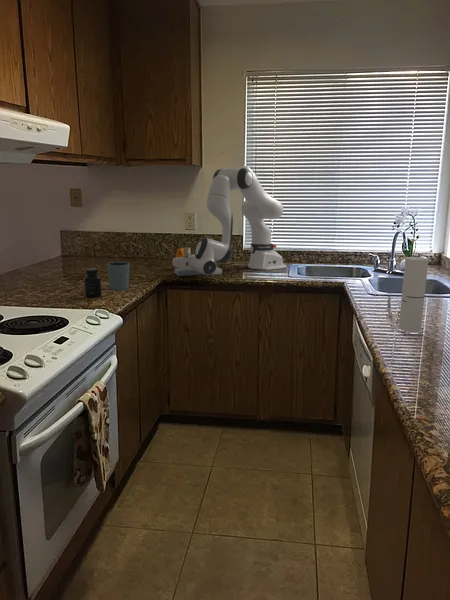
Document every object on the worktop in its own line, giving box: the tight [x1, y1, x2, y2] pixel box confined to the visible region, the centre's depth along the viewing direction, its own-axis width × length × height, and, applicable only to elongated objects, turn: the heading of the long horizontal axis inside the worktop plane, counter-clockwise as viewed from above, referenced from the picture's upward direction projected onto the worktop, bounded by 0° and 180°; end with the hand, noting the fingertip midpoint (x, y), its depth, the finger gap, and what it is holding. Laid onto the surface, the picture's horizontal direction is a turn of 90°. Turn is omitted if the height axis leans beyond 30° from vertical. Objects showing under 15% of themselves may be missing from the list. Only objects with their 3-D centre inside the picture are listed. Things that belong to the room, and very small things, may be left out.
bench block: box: [173, 268, 201, 277], centre depth 266 cm, size 12×8×2 cm, turn 110°
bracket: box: [173, 247, 185, 269], centre depth 280 cm, size 11×7×12 cm, turn 40°
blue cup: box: [107, 261, 131, 292], centre depth 228 cm, size 10×10×12 cm
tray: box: [209, 266, 223, 276], centre depth 269 cm, size 9×9×3 cm
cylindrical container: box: [398, 256, 429, 332], centre depth 165 cm, size 7×7×25 cm
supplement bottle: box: [83, 267, 103, 299], centre depth 212 cm, size 7×7×12 cm
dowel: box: [183, 247, 191, 257], centre depth 265 cm, size 4×4×14 cm
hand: (186, 258), depth 265 cm, fingers closed on dowel, 4 cm apart
